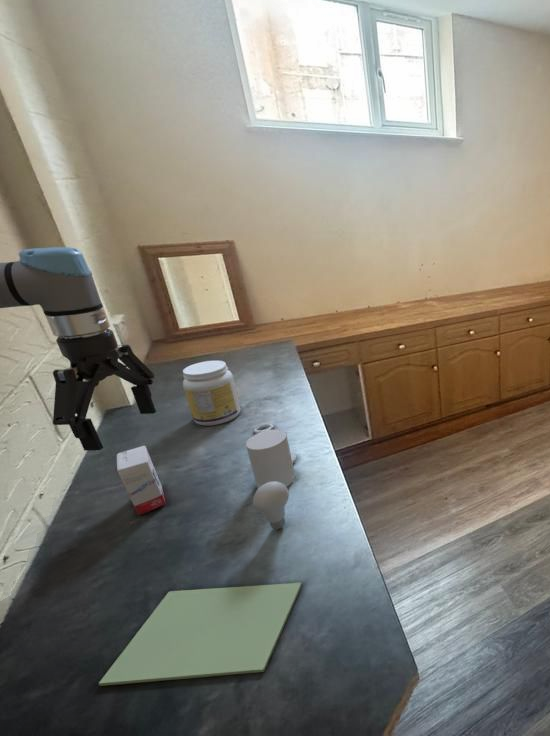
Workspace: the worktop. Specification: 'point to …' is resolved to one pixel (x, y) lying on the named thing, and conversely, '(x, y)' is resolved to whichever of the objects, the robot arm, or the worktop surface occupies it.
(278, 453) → the cup
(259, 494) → the lightbulb
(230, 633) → the mat
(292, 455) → the wrench
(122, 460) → the ink box
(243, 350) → the worktop surface
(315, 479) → the worktop surface
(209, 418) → the supplement tub
